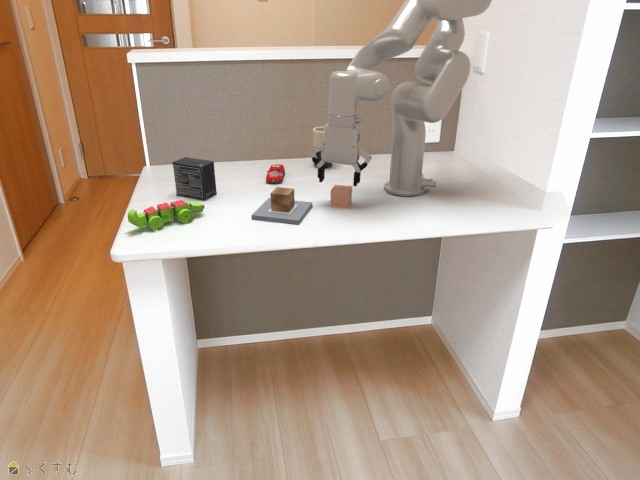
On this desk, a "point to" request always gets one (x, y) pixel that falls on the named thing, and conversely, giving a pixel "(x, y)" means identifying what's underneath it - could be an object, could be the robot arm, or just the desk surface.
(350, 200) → the terracotta cube
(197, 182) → the small box
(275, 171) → the race car
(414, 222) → the desk surface
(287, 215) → the board
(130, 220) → the toy crocodile
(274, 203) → the walnut cube
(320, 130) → the character mug
